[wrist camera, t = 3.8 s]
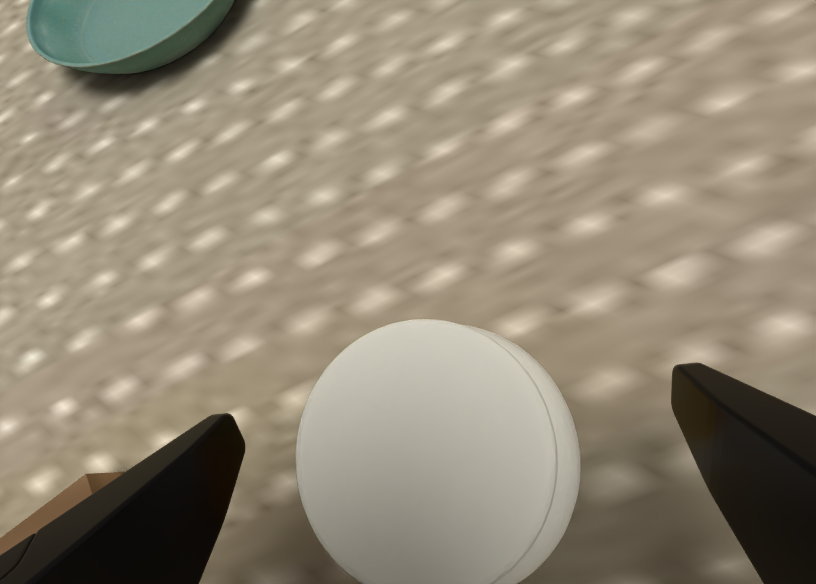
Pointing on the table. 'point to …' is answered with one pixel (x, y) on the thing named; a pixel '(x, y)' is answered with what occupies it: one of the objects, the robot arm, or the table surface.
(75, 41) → the saucer
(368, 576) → the supplement bottle
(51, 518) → the tray
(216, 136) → the table surface
